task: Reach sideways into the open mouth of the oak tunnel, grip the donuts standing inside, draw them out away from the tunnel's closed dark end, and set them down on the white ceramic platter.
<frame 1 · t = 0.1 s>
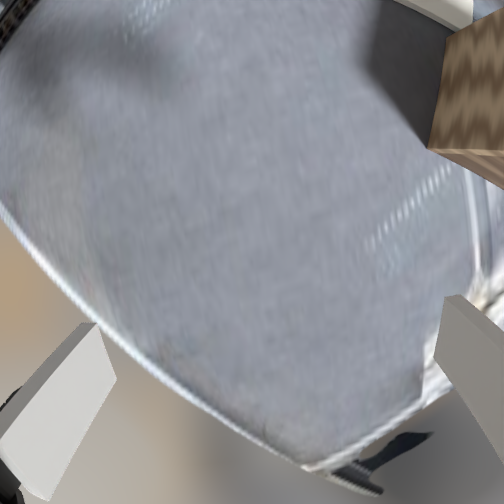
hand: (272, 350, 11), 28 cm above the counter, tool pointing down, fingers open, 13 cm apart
tunnel: (502, 128, 32), on the counter
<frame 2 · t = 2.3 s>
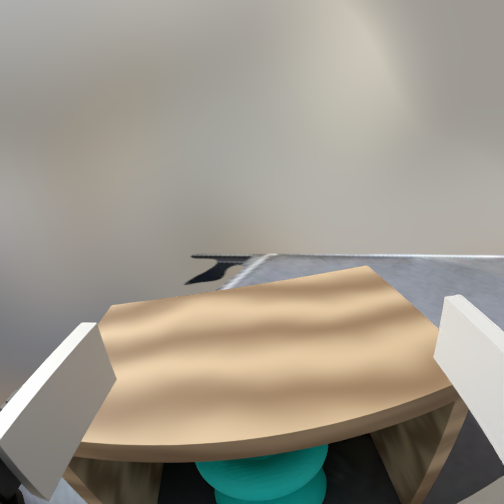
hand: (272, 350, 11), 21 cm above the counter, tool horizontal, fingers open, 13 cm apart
donuts: (272, 494, 23), on the counter
tunnel: (268, 471, 25), on the counter
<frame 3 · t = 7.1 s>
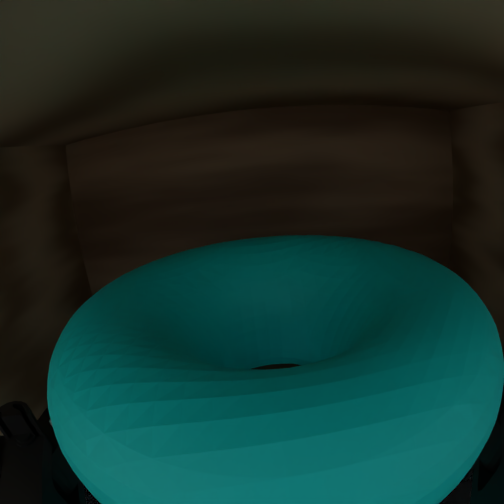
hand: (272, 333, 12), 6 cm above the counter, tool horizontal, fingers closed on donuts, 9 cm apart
tunnel: (280, 460, 12), on the counter
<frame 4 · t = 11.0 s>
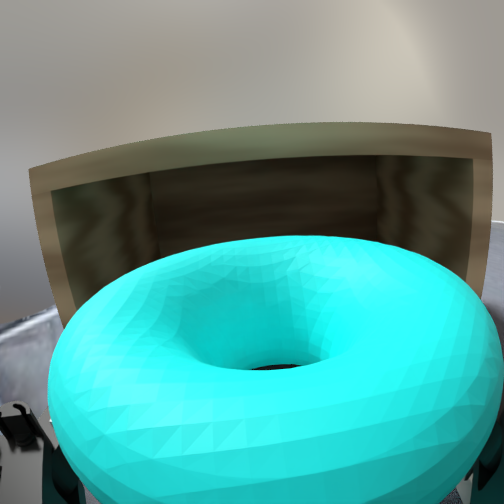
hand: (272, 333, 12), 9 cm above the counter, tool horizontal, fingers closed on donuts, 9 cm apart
tunnel: (275, 345, 26), on the counter
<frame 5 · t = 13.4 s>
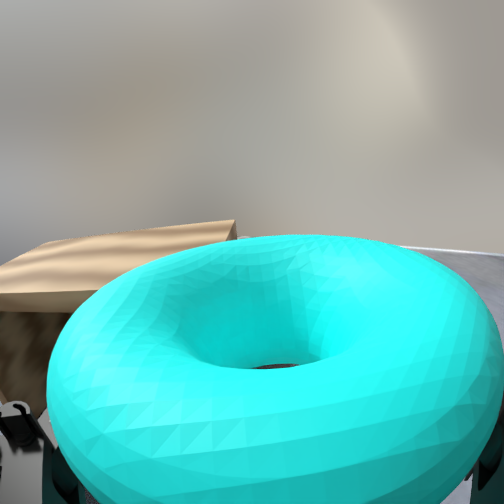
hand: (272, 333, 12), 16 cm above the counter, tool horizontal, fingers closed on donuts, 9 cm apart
tunnel: (134, 396, 31), on the counter
when the fingers open (9 cm above the counter, at t = 15.1 s): donuts moves 3 cm, resting on platter.
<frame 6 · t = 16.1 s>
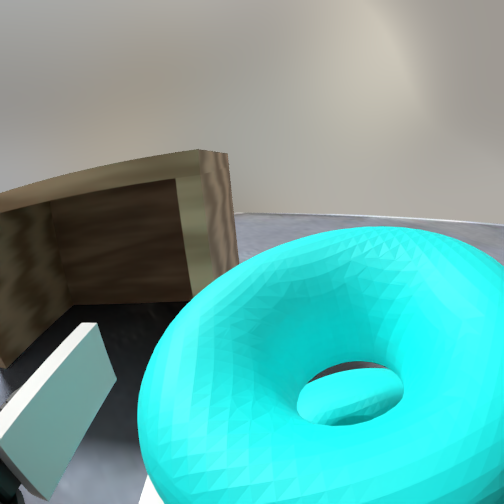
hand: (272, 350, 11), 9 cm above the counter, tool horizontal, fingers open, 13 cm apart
donuts: (358, 480, 11), point 3 cm above the counter, touching platter
platter: (285, 492, 13), on the counter
tunnel: (121, 331, 31), on the counter
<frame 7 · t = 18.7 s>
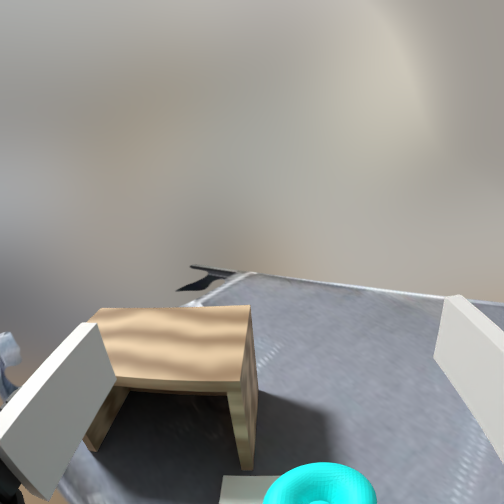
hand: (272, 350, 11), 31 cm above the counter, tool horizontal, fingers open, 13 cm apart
tunnel: (176, 423, 44), on the counter
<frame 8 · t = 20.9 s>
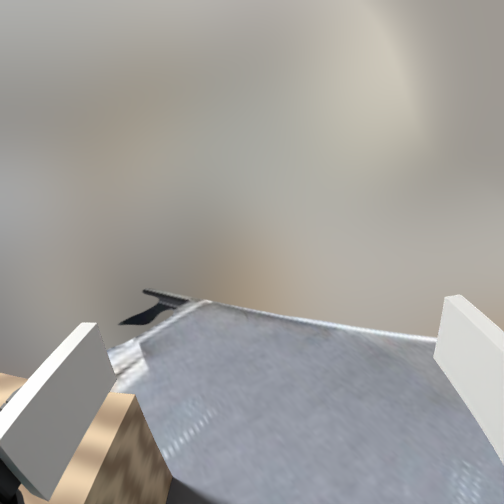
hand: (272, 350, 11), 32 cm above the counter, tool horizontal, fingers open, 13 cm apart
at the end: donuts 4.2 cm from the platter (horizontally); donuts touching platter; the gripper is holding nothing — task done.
